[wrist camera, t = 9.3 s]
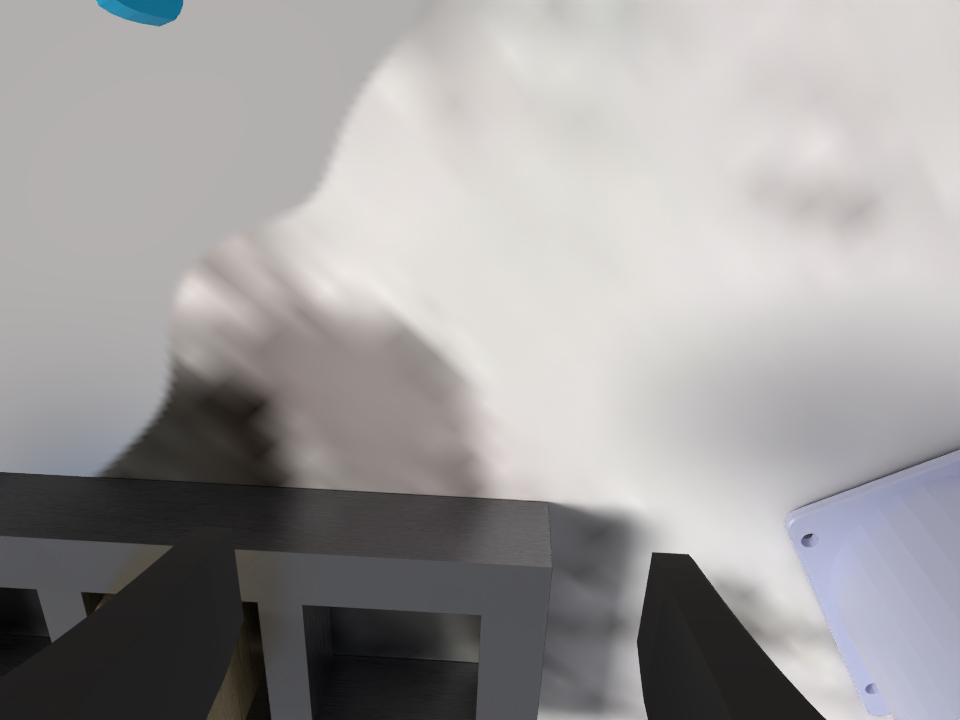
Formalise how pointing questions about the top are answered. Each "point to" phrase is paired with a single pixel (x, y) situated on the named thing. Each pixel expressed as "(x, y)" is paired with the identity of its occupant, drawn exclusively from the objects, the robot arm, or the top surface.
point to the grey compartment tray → (305, 582)
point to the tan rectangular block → (238, 668)
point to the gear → (144, 10)
